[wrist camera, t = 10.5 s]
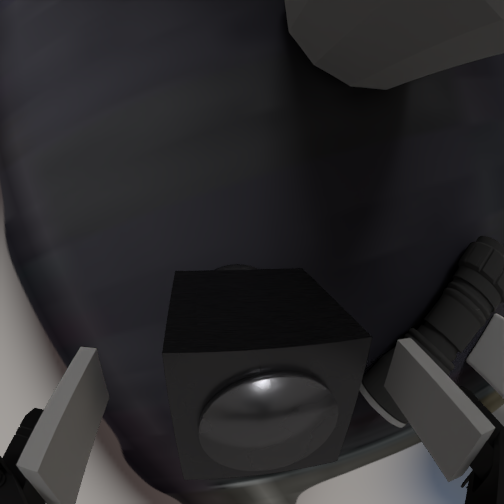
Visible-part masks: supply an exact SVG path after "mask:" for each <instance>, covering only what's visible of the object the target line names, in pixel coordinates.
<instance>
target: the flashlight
mask: <svg viewBox="0 0 504 504" xmlns="http://www.w3.org/2000/svg"><path fill="white" fill-rule="evenodd" d="M458 266H459V268H458V270H457V271H456V273H455V274H454V275H453V281H452V282H451V283H448V285H447V288H445V289H444V291H443V295H442V296H441V297H440V299H439V300H438V301H437V303H436V304H435V305H434V307H433V308H432V309H431V311H430V312H429V313H428V314H427V316H426V317H425V318H424V321H425V322H426V323H425V324H424V325H422V324H421V326H420V327H419V328H418V329H417V330H415V329H414V328H411V329H409V333H407V334H405V336H404V338H403V339H406V338H411V339H412V340H413V341H414V342H415V343H416V344H417V345H418V346H419V347H420V348H421V349H422V350H423V351H424V352H425V353H426V354H427V355H428V356H429V357H430V358H431V359H432V360H433V361H434V362H435V363H436V364H437V365H438V366H439V367H440V368H441V369H442V370H443V371H444V372H445V373H446V375H447V376H448V375H449V374H450V371H452V370H454V364H453V363H452V361H453V360H454V359H455V358H456V357H457V356H456V353H457V352H460V353H462V351H463V350H464V349H465V348H466V346H467V345H468V344H469V342H470V341H471V340H472V338H473V337H474V336H475V334H476V333H477V332H478V330H479V329H480V328H481V327H483V326H484V325H485V322H486V320H488V319H489V316H490V313H491V312H494V311H495V310H496V308H497V307H498V305H499V304H500V303H501V302H504V246H503V245H502V244H501V243H499V242H498V241H496V240H494V239H492V238H489V237H486V236H480V237H479V238H478V239H477V241H476V242H472V243H470V245H469V246H468V248H467V250H466V251H465V253H464V254H463V256H462V257H461V259H460V260H459V263H458ZM394 351H395V347H394V348H393V349H392V350H390V351H389V352H387V353H386V354H384V355H383V356H382V357H381V358H380V359H379V360H378V362H377V363H376V364H375V365H374V366H373V367H372V368H371V369H370V370H369V371H368V372H367V373H366V374H365V375H364V376H363V378H362V382H363V383H362V382H361V386H360V389H359V390H360V392H361V393H362V395H363V396H364V398H365V399H366V400H367V401H368V403H369V404H370V405H371V406H372V407H373V408H374V409H375V410H376V411H377V412H378V413H379V414H380V415H381V416H382V417H384V418H385V419H386V420H387V421H388V422H390V423H391V424H393V425H395V426H397V427H400V428H402V427H404V426H405V425H406V424H407V423H408V420H407V419H406V417H405V416H404V414H403V413H402V412H401V410H400V409H399V407H398V406H397V404H396V403H395V401H394V400H393V398H392V397H391V396H390V394H389V393H388V391H387V390H386V388H385V387H384V384H385V381H386V378H387V374H388V371H389V368H390V365H391V361H392V358H393V354H394Z"/></svg>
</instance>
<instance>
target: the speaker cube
mask: <svg viewBox="0 0 504 504" xmlns="http://www.w3.org/2000/svg"><path fill="white" fill-rule="evenodd" d="M371 340H372V337H371V336H370V335H369V334H368V333H367V332H366V331H365V330H364V329H363V328H362V327H361V326H360V325H359V324H358V323H357V322H356V321H355V320H354V319H353V318H352V317H351V316H350V315H349V314H348V313H347V312H346V311H345V310H344V309H343V308H342V307H341V306H340V305H339V304H338V303H337V302H336V301H335V300H334V299H333V298H332V297H331V296H330V295H329V294H328V293H327V292H326V291H325V290H324V289H323V288H322V287H321V286H320V285H319V284H318V283H317V282H316V281H315V280H314V279H313V278H312V277H311V276H310V275H309V274H308V273H307V272H306V271H305V270H303V269H302V268H296V269H258V270H211V271H175V276H174V281H173V287H172V293H171V299H170V305H169V311H168V317H167V324H166V331H165V337H164V344H163V351H162V355H163V363H164V371H165V378H166V385H167V392H168V398H169V405H170V411H171V417H172V422H173V428H174V434H175V439H176V444H177V449H178V454H179V459H180V464H181V468H182V473H183V477H184V480H198V479H220V478H234V477H245V476H255V475H263V474H271V473H278V472H284V471H290V470H296V469H302V468H307V467H312V466H317V465H322V464H326V463H331V462H335V461H337V460H338V457H339V454H340V451H341V448H342V445H343V442H344V439H345V436H346V433H347V430H348V427H349V424H350V421H351V417H352V414H353V411H354V407H355V404H356V400H357V397H358V393H359V389H360V386H361V382H362V378H363V374H364V370H365V366H366V362H367V358H368V354H369V349H370V345H371Z"/></svg>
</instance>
